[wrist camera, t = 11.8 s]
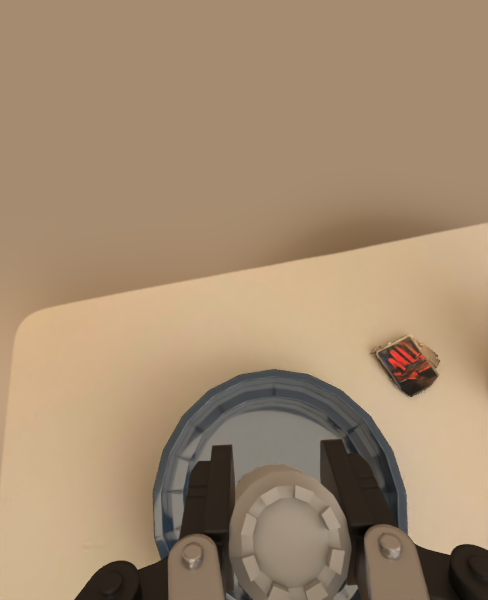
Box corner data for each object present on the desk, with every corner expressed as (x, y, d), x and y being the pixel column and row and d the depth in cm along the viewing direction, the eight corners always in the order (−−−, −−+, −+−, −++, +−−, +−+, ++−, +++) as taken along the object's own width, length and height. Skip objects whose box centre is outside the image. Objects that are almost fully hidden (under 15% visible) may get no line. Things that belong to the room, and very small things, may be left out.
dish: (340, 696, 22) (356, 736, 19) (123, 547, 26) (101, 557, 22) (414, 441, 28) (436, 434, 25) (230, 352, 32) (227, 335, 29)
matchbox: (414, 403, 30) (416, 401, 29) (365, 357, 32) (366, 355, 31) (448, 365, 31) (451, 364, 31) (399, 324, 33) (401, 322, 32)
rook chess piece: (240, 599, 15) (224, 699, 8) (215, 480, 17) (184, 471, 10) (344, 564, 15) (420, 629, 8) (307, 452, 17) (343, 424, 10)
